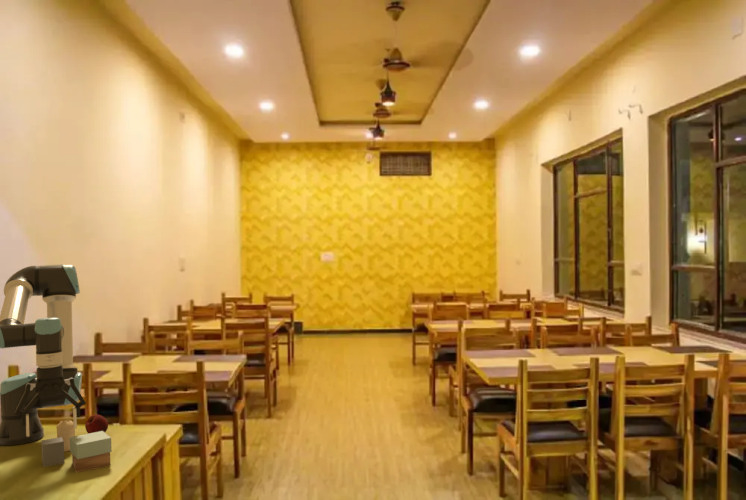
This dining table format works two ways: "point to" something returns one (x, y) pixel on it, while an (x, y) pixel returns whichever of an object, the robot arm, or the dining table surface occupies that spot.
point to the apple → (96, 424)
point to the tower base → (91, 462)
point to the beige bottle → (66, 432)
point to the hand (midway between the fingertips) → (51, 431)
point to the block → (52, 451)
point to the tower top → (90, 444)
